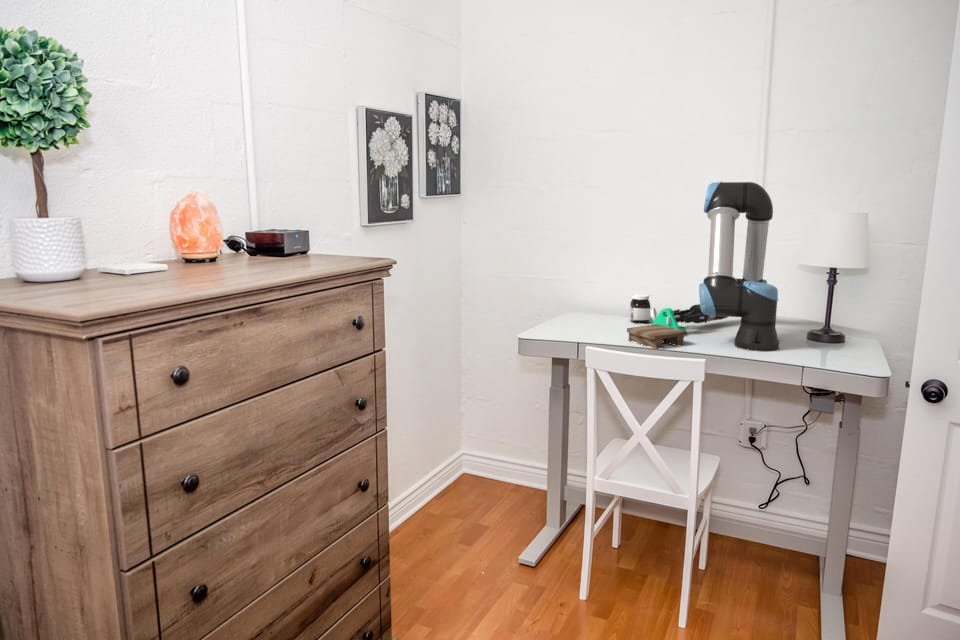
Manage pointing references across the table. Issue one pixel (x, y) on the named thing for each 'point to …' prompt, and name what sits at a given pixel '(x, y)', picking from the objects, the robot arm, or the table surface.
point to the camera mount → (662, 318)
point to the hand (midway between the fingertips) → (662, 319)
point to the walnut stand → (656, 335)
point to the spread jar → (641, 309)
